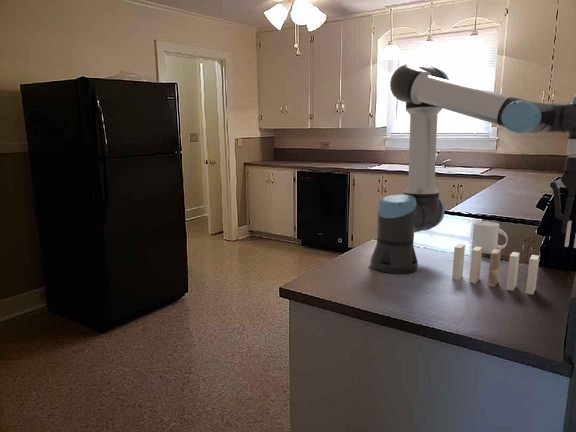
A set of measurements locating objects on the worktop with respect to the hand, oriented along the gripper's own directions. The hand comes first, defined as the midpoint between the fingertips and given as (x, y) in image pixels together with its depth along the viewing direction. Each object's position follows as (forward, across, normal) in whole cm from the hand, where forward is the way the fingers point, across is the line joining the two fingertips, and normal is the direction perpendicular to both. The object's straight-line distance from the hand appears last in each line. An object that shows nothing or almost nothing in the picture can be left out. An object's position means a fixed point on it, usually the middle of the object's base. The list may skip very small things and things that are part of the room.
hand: (571, 246), depth 115 cm
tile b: (+14, -23, 0) cm, 27 cm away
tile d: (+14, -8, 0) cm, 17 cm away
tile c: (+14, -13, 0) cm, 19 cm away
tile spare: (+14, -18, 0) cm, 23 cm away
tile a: (+14, -28, 0) cm, 32 cm away
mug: (+15, -27, +38) cm, 48 cm away
